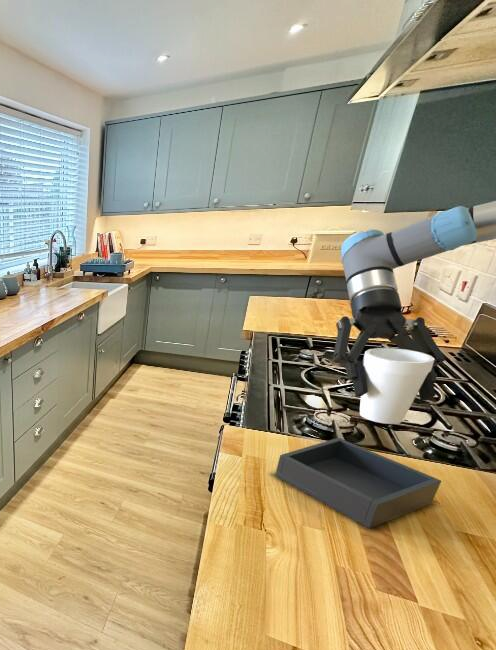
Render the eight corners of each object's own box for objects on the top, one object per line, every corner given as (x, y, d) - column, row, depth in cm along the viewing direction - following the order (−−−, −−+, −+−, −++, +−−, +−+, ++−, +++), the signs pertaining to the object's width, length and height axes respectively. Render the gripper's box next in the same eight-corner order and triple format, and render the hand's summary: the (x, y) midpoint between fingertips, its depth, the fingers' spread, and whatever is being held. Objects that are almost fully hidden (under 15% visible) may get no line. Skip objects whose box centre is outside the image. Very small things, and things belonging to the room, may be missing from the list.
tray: (431, 503, 76) (441, 480, 74) (369, 528, 71) (378, 504, 69) (332, 457, 91) (338, 437, 89) (274, 475, 86) (280, 454, 84)
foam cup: (382, 430, 79) (401, 365, 74) (337, 410, 87) (352, 351, 82) (427, 424, 79) (449, 359, 75) (379, 404, 88) (395, 345, 83)
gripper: (426, 307, 88) (453, 407, 80) (303, 307, 94) (316, 399, 86) (454, 286, 81) (486, 392, 73) (319, 287, 87) (335, 385, 79)
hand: (394, 396), depth 79 cm, fingers closed on foam cup, 10 cm apart
